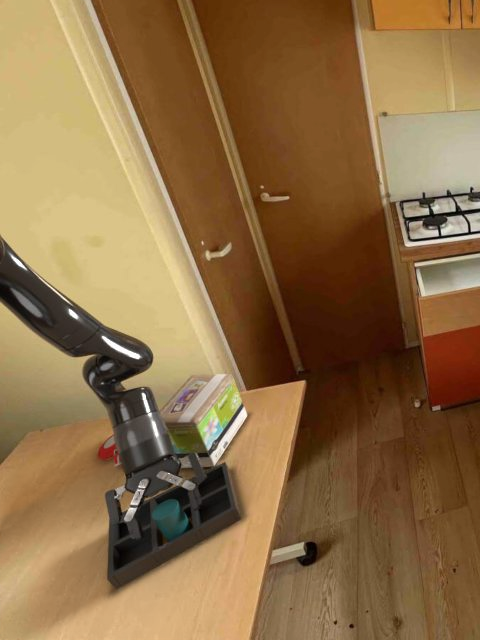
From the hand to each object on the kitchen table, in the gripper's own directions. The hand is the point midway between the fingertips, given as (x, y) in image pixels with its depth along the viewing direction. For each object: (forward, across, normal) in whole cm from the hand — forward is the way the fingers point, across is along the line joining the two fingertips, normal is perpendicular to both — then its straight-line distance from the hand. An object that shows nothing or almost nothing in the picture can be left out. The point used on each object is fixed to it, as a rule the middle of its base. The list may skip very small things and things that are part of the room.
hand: (169, 523), depth 79 cm
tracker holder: (-19, -9, +28) cm, 35 cm away
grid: (+1, 0, +8) cm, 8 cm away
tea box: (-12, +8, +21) cm, 26 cm away
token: (+3, 0, +5) cm, 5 cm away
